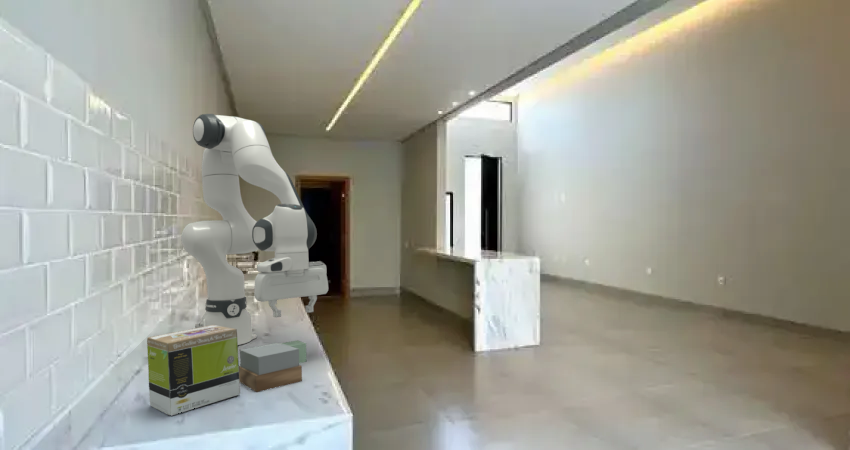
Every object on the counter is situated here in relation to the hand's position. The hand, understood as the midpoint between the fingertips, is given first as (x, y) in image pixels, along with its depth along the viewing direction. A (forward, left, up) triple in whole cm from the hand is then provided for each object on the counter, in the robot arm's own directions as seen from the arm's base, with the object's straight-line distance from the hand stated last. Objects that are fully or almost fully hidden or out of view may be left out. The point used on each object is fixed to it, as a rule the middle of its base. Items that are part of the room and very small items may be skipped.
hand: (293, 314), depth 136 cm
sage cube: (-1, 0, -13) cm, 13 cm away
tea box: (+13, -29, -13) cm, 35 cm away
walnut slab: (+11, -12, -13) cm, 21 cm away
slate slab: (+12, -12, -9) cm, 19 cm away
